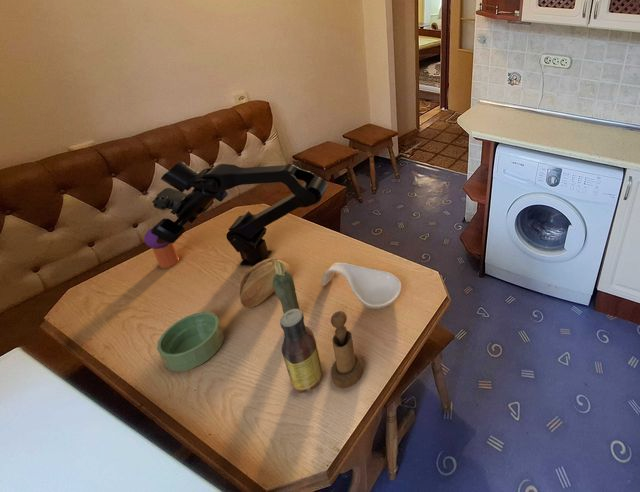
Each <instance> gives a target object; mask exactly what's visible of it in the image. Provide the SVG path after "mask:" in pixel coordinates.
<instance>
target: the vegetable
mask: <svg viewBox="0 0 640 492" xmlns="http://www.w3.org/2000/svg"><path fill="white" fill-rule="evenodd" d="M274 264H275V271H276V273H277V274H276V275H275V276H274V278H273V288H274V293H275V295H276V297H277V299H278V300H279V301H280V304H281V308H282V313H283V315H284V314H285V313H286V312H287V311H289V310H291V309H299V310H300V305H299V301H298V295H297V292H296V287H295V281H294V279H293V275H292V273H291V274H290V273H289V272H287V271H285V269H284V265H283V264H282V263H281V262H278V261H277V260H274V261H272V262H271V265H272V266H273V265H274Z"/></svg>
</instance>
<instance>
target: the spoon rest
mask: <svg viewBox="0 0 640 492" xmlns="http://www.w3.org/2000/svg"><path fill="white" fill-rule="evenodd" d="M335 273H338V274H339V275H341V276H343V277H344V278H345V280H346V281H347V283H348V285H349V288H350V289H351V291H352V293H353V295H354V296H355V298H356V299H357V300H358V302H359V303H361V304H362V305H363V306H364V307H366V308H368V309H372V310H380V309H384V308H387V307H388V306H391V305H392V304H393V303H394V302H395V301H396V300H397V299H398V298H399V296H400V295H401V292H402V283H401V280H400V279H399V278H398V277H397V276H396V275H394V274H392V273H391V272H388V271H384V270H381V269H375V268H370V267H365V266H359V265H356V264H351V263H347V262H335V263H333V264H332V265H331V266H330V268H329V269H327V270H325V272H324V273H323V274H322V277H321V286H325V285H326V286H327V284H329V282H330V281H331V280H333V278H334V277H335Z"/></svg>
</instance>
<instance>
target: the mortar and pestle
mask: <svg viewBox="0 0 640 492" xmlns="http://www.w3.org/2000/svg"><path fill="white" fill-rule="evenodd" d="M347 317H348V316H347V313H345V311H343V310H337V311H335V312H333V314H332V315H331V317H330V324H331V326H332V327H333V328H335V329H334V335H333V336H332V346H333V347H332V348H333V353H334V358H335V359H334V362H333V363H332V366H331V369H330V374H331V380H332V383H333V385H334V386H335V387H336V388H340V389H348V388H350V387H352V386H354V385H355V384H357V383H358V382H359V380H360V379H361V378H362V375H363V372H364V364H363V359H362V357H361V355H360V354H358V353H356V352H355V347H354V342H353V341H354V339H353V335H352V333H351V331H350V330H347V329H348V328H347V326H346V323H347V319H348V318H347Z"/></svg>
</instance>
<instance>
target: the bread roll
mask: <svg viewBox="0 0 640 492" xmlns="http://www.w3.org/2000/svg"><path fill="white" fill-rule="evenodd" d="M274 260H277V261H278V262H281V263H282V264H283V265H284V269H285V271H287V272H289V273H290V274H291V275H292V269H291V266H290V265H289V264H288V263H287V262H285V261H283V260H282V259H278V258H267V259H266V260H263V261H261V262H259V263H257V264H256V265H255V266H251V267H250V268H249V269H248V270H247V271H246V272H245V274H244V275H243V276H242V279H241V281H240V285H239V293H238V294H239V300H240V303H241V305H242V306H243V307H244V308H246V309H251V308H256V306H258V305H260V304H261V303H263V302H264V301H265V300H266V299H268V297H270V296H271V295H272V294H273V293H275V291H274V288H273V278H274V276H275V275H276V274H277V273H276V271H275V264H274V265H273V266H272V265H271V262H272V261H274Z"/></svg>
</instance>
